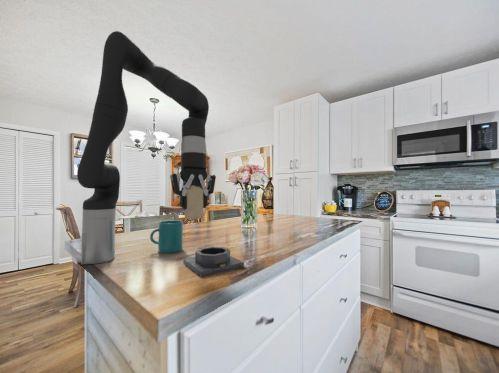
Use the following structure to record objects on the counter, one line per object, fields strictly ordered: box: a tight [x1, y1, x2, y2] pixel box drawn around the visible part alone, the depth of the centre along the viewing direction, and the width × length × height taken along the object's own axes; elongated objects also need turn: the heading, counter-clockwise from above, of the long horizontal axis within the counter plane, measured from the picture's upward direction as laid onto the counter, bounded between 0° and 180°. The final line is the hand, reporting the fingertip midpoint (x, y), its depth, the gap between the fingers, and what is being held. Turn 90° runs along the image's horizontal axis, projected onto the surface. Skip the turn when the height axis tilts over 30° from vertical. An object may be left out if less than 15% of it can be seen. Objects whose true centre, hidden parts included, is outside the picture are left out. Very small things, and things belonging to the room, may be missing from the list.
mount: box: [182, 246, 245, 278], centre depth 69 cm, size 14×14×4 cm
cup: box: [149, 220, 184, 254], centre depth 86 cm, size 9×12×11 cm
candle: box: [184, 185, 204, 220], centre depth 67 cm, size 6×6×10 cm
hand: (194, 208), depth 67 cm, fingers closed on candle, 5 cm apart
